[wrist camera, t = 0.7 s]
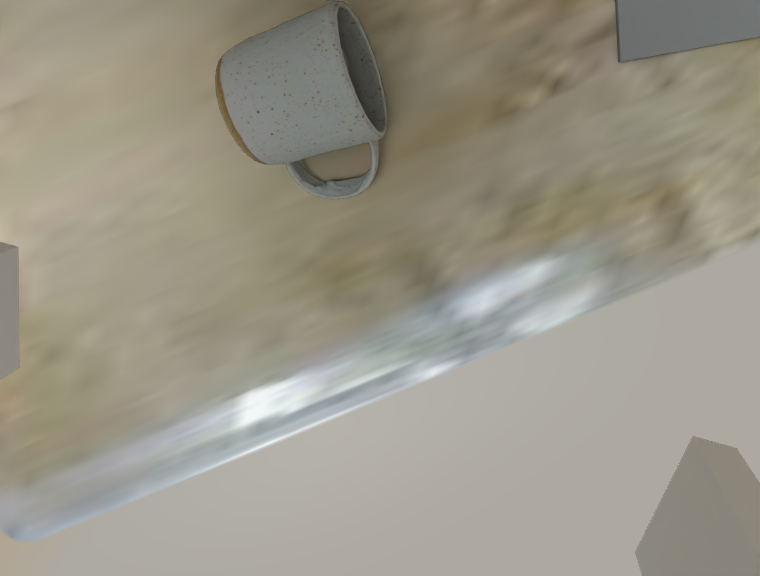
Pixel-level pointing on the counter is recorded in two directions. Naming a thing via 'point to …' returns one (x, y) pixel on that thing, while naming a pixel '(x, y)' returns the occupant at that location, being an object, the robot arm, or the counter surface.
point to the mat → (682, 25)
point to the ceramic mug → (305, 95)
